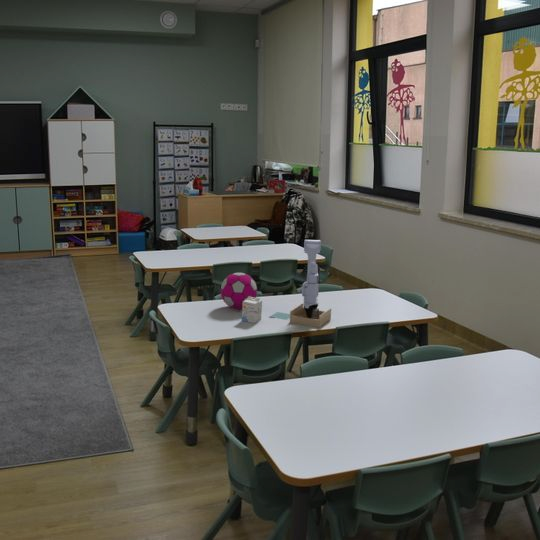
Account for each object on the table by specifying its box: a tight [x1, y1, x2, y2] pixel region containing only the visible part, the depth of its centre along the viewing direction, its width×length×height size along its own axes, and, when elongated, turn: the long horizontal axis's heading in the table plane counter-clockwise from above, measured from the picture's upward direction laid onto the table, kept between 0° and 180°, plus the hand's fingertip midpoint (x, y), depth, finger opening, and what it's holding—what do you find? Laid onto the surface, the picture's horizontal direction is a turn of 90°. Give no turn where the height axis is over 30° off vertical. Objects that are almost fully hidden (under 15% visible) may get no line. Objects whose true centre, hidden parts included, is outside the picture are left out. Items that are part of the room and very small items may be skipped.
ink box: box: [241, 296, 263, 324], centre depth 386 cm, size 9×8×13 cm
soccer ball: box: [220, 272, 258, 310], centre depth 408 cm, size 22×22×22 cm
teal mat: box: [269, 311, 290, 321], centre depth 397 cm, size 11×11×1 cm
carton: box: [289, 303, 332, 328], centre depth 389 cm, size 18×18×7 cm
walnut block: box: [303, 307, 320, 320], centre depth 389 cm, size 4×8×7 cm, turn 65°
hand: (310, 317), depth 389 cm, fingers closed on walnut block, 4 cm apart
